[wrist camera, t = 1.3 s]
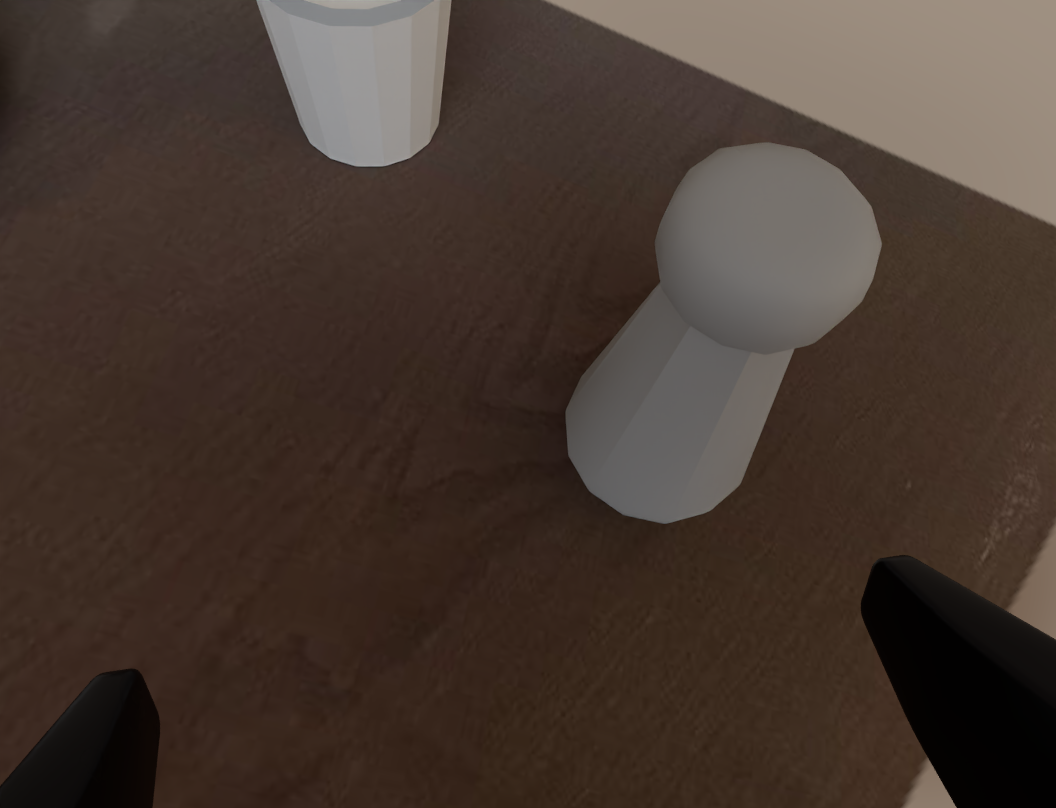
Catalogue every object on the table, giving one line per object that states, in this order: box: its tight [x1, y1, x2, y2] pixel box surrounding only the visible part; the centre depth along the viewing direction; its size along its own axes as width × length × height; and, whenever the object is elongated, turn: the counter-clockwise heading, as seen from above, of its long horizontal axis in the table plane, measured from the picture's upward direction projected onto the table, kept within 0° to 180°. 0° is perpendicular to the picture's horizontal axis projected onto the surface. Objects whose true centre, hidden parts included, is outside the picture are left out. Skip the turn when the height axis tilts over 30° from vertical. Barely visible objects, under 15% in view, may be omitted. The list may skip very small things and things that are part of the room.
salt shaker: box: [566, 143, 882, 524], centre depth 21 cm, size 6×6×13 cm
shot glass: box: [256, 0, 451, 166], centre depth 29 cm, size 7×7×7 cm
